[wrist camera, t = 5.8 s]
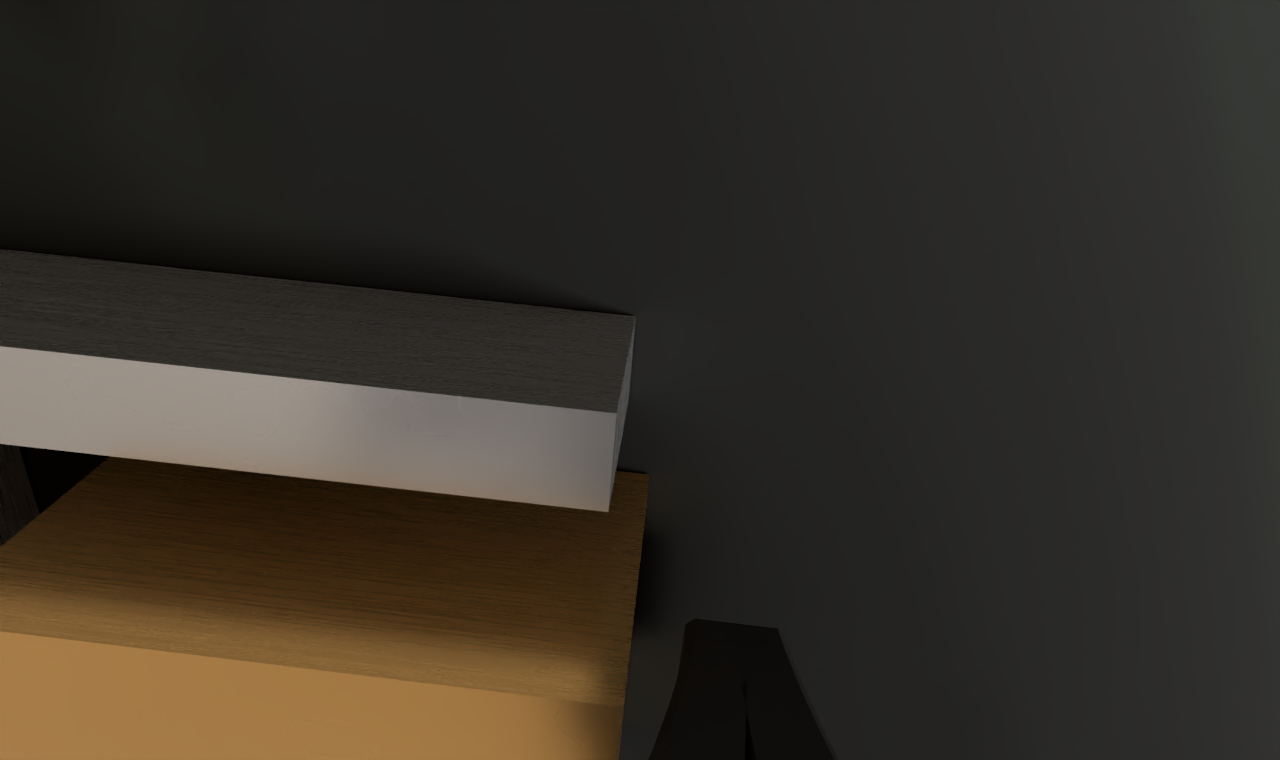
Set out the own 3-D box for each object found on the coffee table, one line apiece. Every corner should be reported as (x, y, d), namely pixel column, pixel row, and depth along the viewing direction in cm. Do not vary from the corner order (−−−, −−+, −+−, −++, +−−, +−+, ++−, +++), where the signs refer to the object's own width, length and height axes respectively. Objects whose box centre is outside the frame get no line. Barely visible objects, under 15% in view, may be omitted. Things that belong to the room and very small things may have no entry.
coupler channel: (636, 316, 10) (611, 439, 8) (594, 783, 14) (569, 970, 12) (-135, 235, 11) (-418, 326, 8) (38, 716, 15) (-110, 883, 12)
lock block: (649, 474, 11) (623, 706, 8) (622, 724, 14) (592, 992, 10) (156, 418, 12) (-89, 620, 8) (210, 674, 14) (38, 919, 10)
